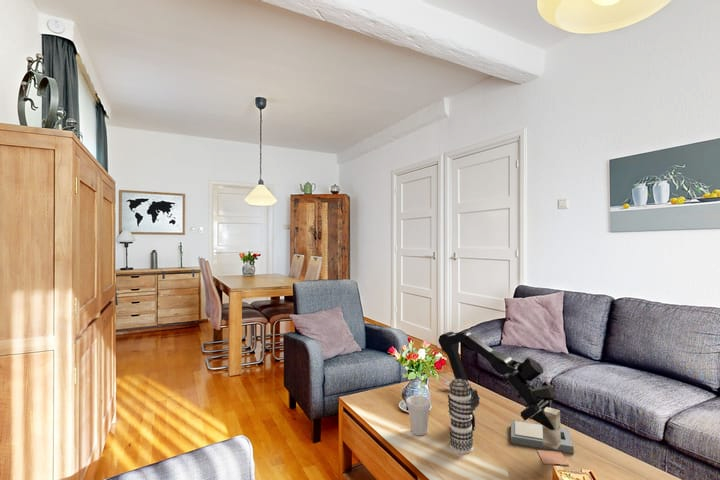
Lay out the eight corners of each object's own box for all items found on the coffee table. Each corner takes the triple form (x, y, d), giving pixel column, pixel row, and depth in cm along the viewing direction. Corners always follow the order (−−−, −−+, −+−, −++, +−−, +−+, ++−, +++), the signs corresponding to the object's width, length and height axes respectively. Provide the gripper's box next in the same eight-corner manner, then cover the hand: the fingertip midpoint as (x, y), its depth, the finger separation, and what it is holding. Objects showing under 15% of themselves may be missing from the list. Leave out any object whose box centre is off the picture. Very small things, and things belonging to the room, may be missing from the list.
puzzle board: (511, 442, 143) (510, 435, 143) (511, 425, 156) (510, 418, 156) (573, 453, 135) (573, 445, 135) (568, 434, 148) (568, 427, 148)
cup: (412, 424, 159) (411, 393, 159) (435, 429, 154) (434, 398, 154) (403, 435, 150) (402, 402, 150) (426, 441, 145) (425, 407, 145)
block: (543, 444, 132) (542, 410, 132) (547, 439, 135) (546, 406, 135) (556, 449, 129) (556, 414, 129) (560, 444, 132) (560, 410, 132)
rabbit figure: (472, 394, 191) (444, 384, 199) (473, 383, 190) (445, 374, 198) (468, 399, 185) (440, 388, 193) (470, 388, 185) (441, 377, 193)
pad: (543, 464, 129) (543, 462, 129) (537, 451, 137) (537, 450, 137) (568, 465, 128) (568, 464, 128) (560, 452, 135) (560, 451, 135)
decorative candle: (471, 456, 134) (469, 387, 134) (446, 450, 139) (444, 383, 139) (476, 444, 142) (475, 378, 142) (452, 438, 147) (451, 375, 147)
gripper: (529, 383, 128) (565, 426, 121) (547, 369, 142) (580, 406, 134) (507, 399, 134) (540, 441, 126) (526, 384, 147) (557, 421, 139)
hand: (555, 427), depth 131 cm, fingers closed on block, 4 cm apart
